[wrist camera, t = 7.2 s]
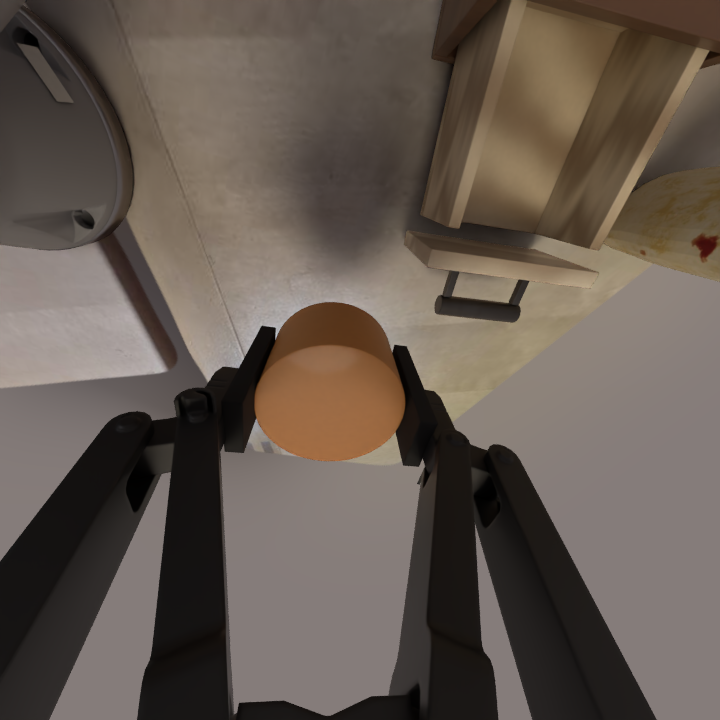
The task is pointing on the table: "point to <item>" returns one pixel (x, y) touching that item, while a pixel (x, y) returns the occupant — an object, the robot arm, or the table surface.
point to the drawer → (544, 142)
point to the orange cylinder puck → (330, 385)
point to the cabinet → (605, 3)
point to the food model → (673, 222)
